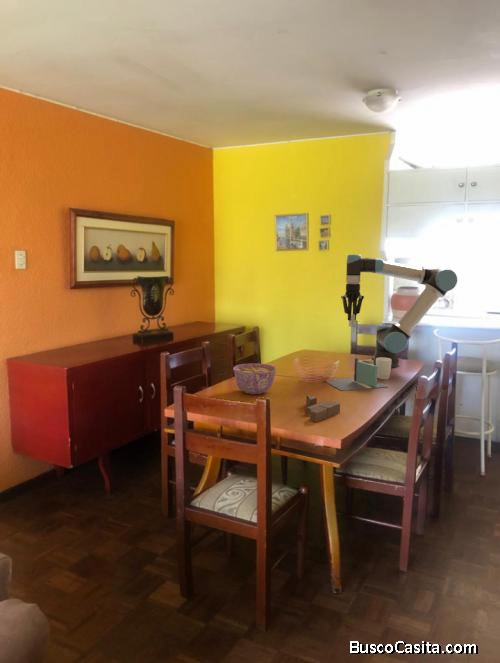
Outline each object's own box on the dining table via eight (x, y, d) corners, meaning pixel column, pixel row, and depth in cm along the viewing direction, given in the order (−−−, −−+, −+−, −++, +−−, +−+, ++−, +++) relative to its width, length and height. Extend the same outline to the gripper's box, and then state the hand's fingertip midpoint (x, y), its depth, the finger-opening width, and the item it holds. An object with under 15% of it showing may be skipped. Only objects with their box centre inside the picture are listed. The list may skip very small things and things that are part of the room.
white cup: (378, 375, 277) (379, 356, 275) (392, 377, 272) (393, 358, 271) (372, 378, 271) (373, 359, 269) (387, 380, 266) (388, 361, 264)
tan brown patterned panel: (373, 380, 266) (374, 357, 264) (374, 380, 265) (375, 357, 263) (353, 381, 263) (354, 358, 261) (354, 382, 261) (355, 358, 260)
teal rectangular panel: (356, 380, 261) (356, 361, 259) (358, 380, 262) (359, 361, 260) (374, 386, 250) (375, 366, 248) (376, 386, 251) (377, 366, 249)
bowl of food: (268, 400, 229) (268, 374, 227) (226, 395, 236) (226, 370, 234) (281, 389, 248) (281, 365, 246) (242, 385, 255) (242, 362, 253)
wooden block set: (341, 400, 212) (316, 409, 198) (341, 413, 213) (316, 424, 199) (307, 392, 223) (281, 401, 210) (307, 405, 224) (281, 414, 210)
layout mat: (367, 377, 271) (367, 376, 271) (388, 387, 252) (388, 386, 252) (323, 380, 264) (323, 379, 264) (341, 390, 245) (341, 389, 245)
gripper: (360, 282, 287) (359, 325, 291) (338, 283, 283) (337, 325, 287) (367, 283, 280) (366, 326, 284) (344, 283, 276) (343, 327, 280)
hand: (351, 326), depth 285 cm, fingers closed
